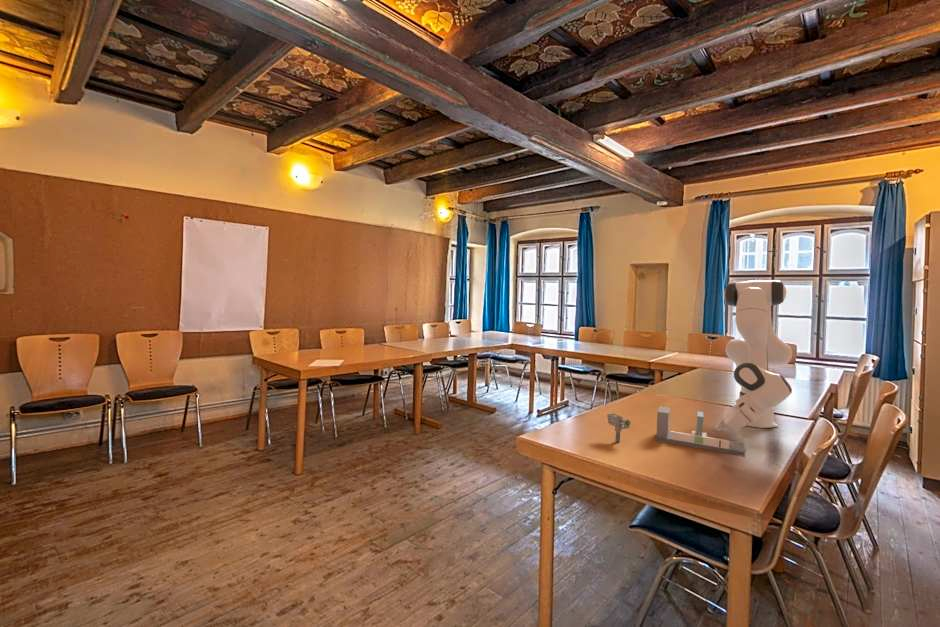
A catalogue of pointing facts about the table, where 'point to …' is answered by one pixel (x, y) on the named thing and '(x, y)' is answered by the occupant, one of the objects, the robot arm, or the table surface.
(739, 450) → the bench
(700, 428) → the block
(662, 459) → the table surface
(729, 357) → the robot arm
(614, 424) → the mechanical component
